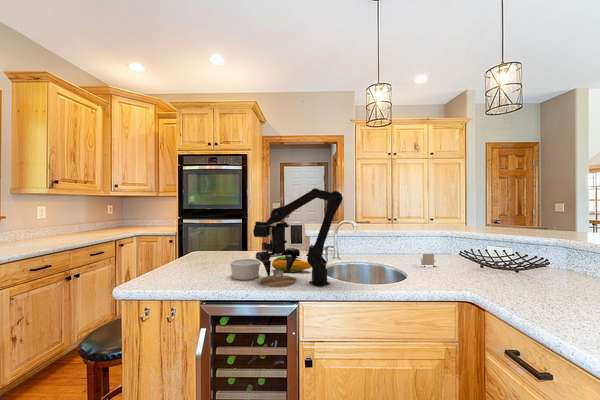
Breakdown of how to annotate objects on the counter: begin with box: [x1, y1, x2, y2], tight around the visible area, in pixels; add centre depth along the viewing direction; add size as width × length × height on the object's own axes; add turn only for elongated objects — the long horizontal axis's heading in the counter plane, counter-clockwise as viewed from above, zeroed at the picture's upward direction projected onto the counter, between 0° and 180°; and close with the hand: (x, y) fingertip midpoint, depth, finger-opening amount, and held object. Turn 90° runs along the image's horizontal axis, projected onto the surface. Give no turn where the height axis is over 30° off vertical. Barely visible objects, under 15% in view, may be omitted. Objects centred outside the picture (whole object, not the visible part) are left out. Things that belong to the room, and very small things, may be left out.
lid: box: [259, 269, 296, 288], centre depth 114 cm, size 15×15×5 cm
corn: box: [271, 256, 312, 273], centre depth 130 cm, size 7×8×20 cm
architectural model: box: [420, 253, 437, 266], centre depth 141 cm, size 3×7×7 cm, turn 86°
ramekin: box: [230, 258, 261, 281], centre depth 121 cm, size 13×13×7 cm
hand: (278, 274), depth 114 cm, fingers open, 9 cm apart
